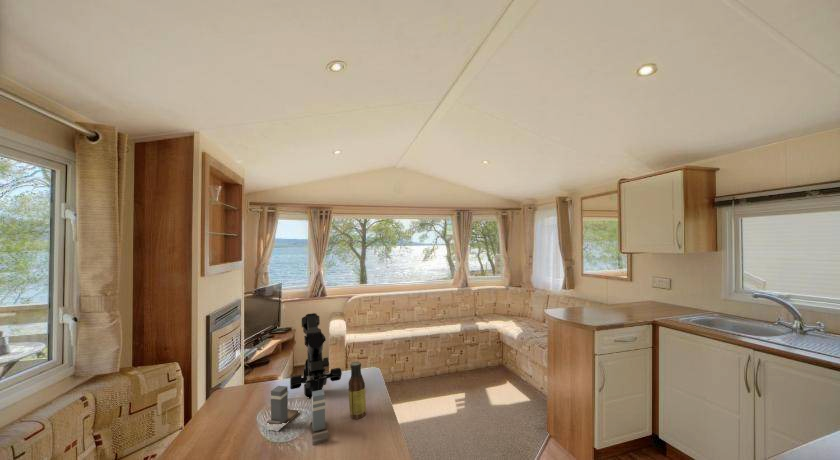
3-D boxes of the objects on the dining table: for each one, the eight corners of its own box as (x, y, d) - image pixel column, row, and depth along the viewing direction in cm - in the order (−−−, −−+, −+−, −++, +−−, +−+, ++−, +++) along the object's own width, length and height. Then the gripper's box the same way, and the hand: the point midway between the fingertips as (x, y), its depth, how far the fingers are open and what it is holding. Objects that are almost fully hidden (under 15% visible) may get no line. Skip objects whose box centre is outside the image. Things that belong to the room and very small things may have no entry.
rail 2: (310, 425, 111) (310, 417, 112) (324, 421, 113) (324, 413, 114) (312, 445, 100) (312, 435, 101) (328, 440, 102) (328, 431, 103)
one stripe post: (278, 417, 115) (278, 385, 115) (288, 418, 114) (288, 386, 114) (270, 424, 110) (270, 391, 111) (280, 425, 110) (280, 392, 110)
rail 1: (287, 411, 121) (287, 404, 121) (298, 412, 120) (298, 405, 120) (266, 430, 109) (266, 421, 109) (279, 431, 108) (278, 423, 108)
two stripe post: (312, 425, 109) (311, 391, 110) (324, 422, 111) (324, 389, 112) (312, 432, 106) (312, 397, 106) (325, 428, 107) (325, 394, 108)
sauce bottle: (369, 412, 119) (368, 361, 119) (359, 421, 113) (358, 367, 114) (355, 409, 122) (354, 359, 122) (345, 417, 116) (344, 365, 117)
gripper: (290, 354, 114) (290, 398, 104) (340, 347, 122) (345, 387, 111) (290, 368, 121) (290, 410, 111) (338, 360, 128) (342, 398, 118)
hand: (317, 401), depth 112 cm, fingers closed
